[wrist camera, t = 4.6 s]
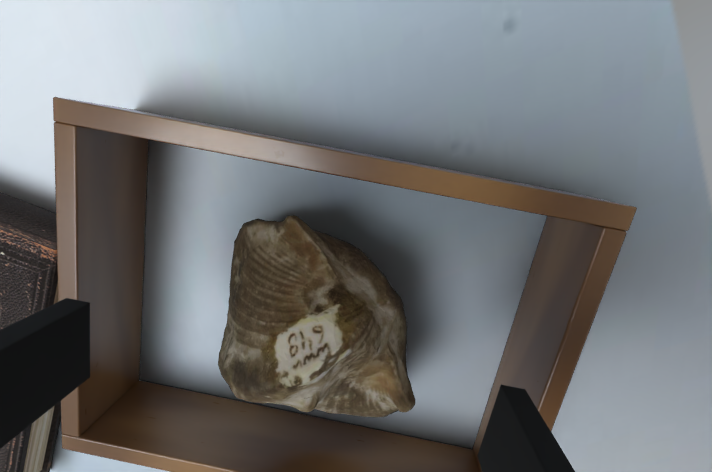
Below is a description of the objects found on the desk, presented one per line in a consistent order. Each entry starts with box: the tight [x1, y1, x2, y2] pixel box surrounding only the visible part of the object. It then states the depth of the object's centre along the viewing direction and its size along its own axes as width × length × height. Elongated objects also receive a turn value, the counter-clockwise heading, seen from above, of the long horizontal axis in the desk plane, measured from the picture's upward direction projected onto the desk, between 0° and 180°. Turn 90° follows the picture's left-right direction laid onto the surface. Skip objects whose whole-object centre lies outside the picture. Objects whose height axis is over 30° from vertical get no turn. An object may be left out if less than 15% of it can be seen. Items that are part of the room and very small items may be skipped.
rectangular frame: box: [53, 97, 637, 472], centre depth 15 cm, size 20×15×4 cm
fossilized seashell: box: [218, 215, 415, 417], centre depth 15 cm, size 8×7×10 cm
